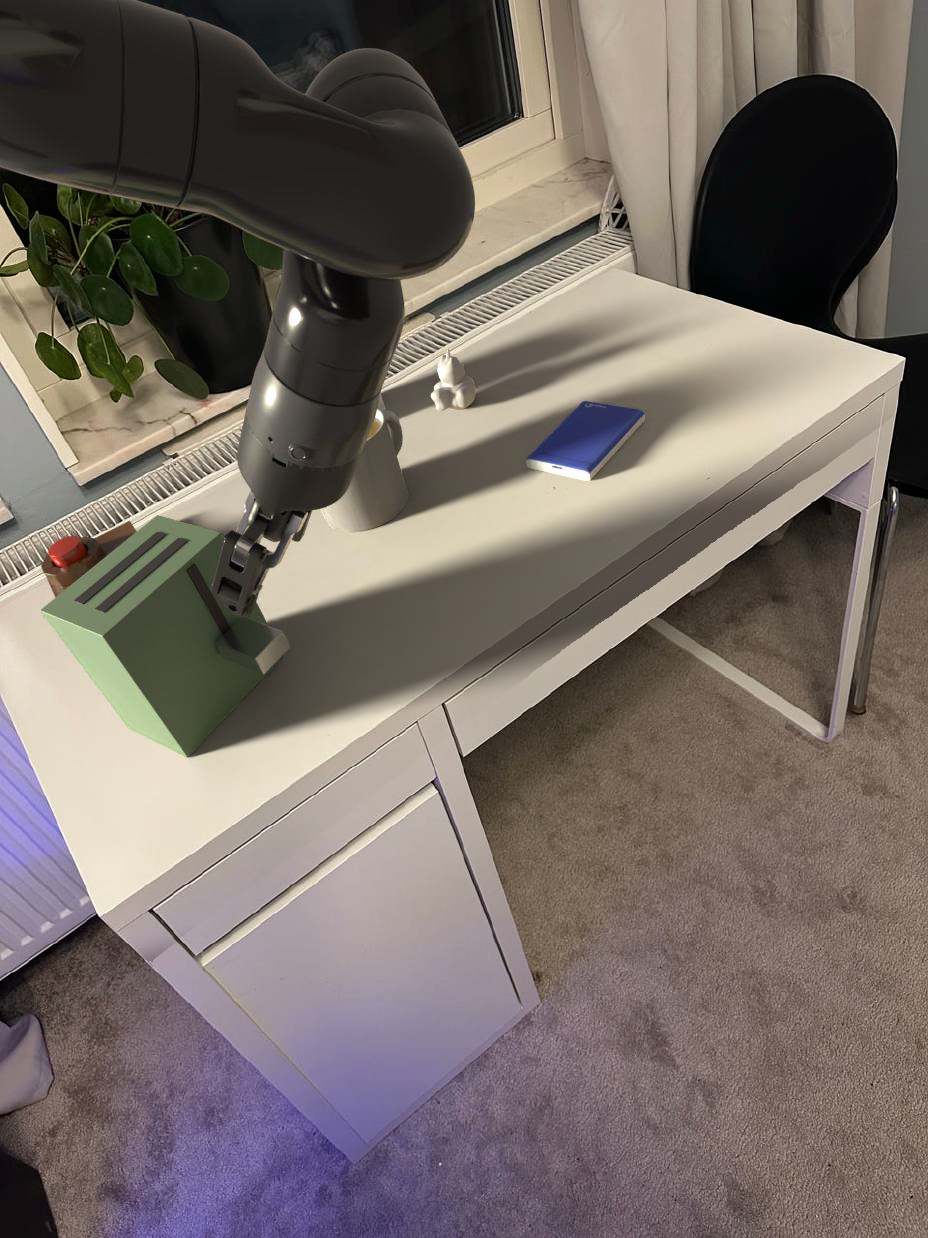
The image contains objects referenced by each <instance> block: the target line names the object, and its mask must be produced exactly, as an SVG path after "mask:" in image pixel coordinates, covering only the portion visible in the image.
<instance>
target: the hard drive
mask: <svg viewBox="0 0 928 1238" xmlns="http://www.w3.org/2000/svg"><path fill="white" fill-rule="evenodd" d="M645 420H646V414H645V411H644V410H642V409H639V408H634V407H629V406H628V407H627V406H621V405H615V404H608V403H601V402H595V401H590V400H583V401H581V402H580V403H579V404H578V405H577V406H576V407H575V408H574V409H573V411H572V412H570V413H569V415H567V416H566V417H565V418H564V419H563V420H562V421H561V423H560V424H558V425H557V427H556V428H554V430H553V431H551V432H550V434H548V436H546V438H545V439H544V440H542V441H541V443H540V444H539V445H538V446H537V447H535V448H534V450H533V451H532V452H531V453H529V454H528V455H527V457H526V458H525V461H526V467H527V468H528V469H530V470H534V471H540V472H544V473H550V474H553V475H559V476H563V477H567V478H572V479H576V480H581V481H586V482H589V481H591V480H592V479H593V478H594V477H595V476H596V474H598V472H599V471H600V470H601V469H602V468H604V466H605V465H606V464H607V463H608V462H609V461H610V459H611V458H612V457H613V456H615V454H616V453H617V451H618V450H619V449H621V447H622V446H623V445H624V444H625V443H626V442H627V441H628V439H630V437H631V436H633V434H634V433H635V432H636V431H637V430H638V428H640V426H641V425H642V424H643V423H644V422H645Z"/></svg>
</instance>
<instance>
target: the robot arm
mask: <svg viewBox="0 0 928 1238" xmlns="http://www.w3.org/2000/svg"><path fill="white" fill-rule="evenodd" d="M0 168H1V169H4V170H8V171H12V172H14V173H18V174H20V175H25V176H27V177H32V178H34V179H37V180H41V181H46V182H50V183H53V184H57V185H61V186H66V187H69V188H74V189H78V190H81V191H87V192H91V193H96V194H101V195H107V196H108V195H109V196H111V197H114V198H121V199H124V200H131V201H135V202H141V203H145V204H151V205H156V206H159V207H164V208H165V207H166V208H171V209H176V210H182V211H187V212H193V213H200V214H205V215H209V216H213V217H215V218H218V219H220V220H221V221H224V222H226V223H228V224H231V225H232V226H234V227H236V228H239V229H240V230H242V231H244V232H246V233H247V234H250V235H252V236H254V237H256V238H258V239H260V240H263V241H265V242H267V243H270V244H272V245H274V246H276V247H279V248H281V249H282V265H281V267H282V268H281V277H280V282H279V285H278V287H277V291H276V295H275V299H274V303H273V306H272V312H271V317H270V321H269V324H268V325H269V326H268V330H267V334H266V339H265V343H264V345H263V350H262V352H261V355H260V357H259V359H258V361H257V364H256V366H255V370H254V373H253V376H252V379H251V386H250V390H249V395H248V400H247V404H246V408H245V413H244V418H243V423H242V427H241V431H240V436H239V440H238V445H237V450H236V461H237V467H238V470H239V473H240V474H241V476H242V479H243V480H244V482H245V483H246V484H247V486H248V487H249V490H250V491H249V493H248V495H247V498H246V500H245V502H244V505H243V506H244V513H243V515H242V517H241V520H240V522H239V524H238V526H237V529H236V530H234V529H230V530H229V531H228V533H226V534H225V536H223V537H224V543H223V546H222V550H221V554H220V558H219V562H218V566H217V570H216V574H215V577H214V581H213V584H212V589H211V592H213V593H215V594H217V595H220V596H222V597H223V601H222V604H223V606H224V609H226V610H228V611H230V612H232V613H234V614H236V615H238V616H240V617H242V616H243V617H246V618H248V617H249V616H250V615H251V613H252V612H253V610H254V608H255V604H256V602H258V601H257V600H258V598H259V594H260V592H261V590H262V589H263V584H264V581H265V579H266V577H267V575H268V573H269V571H270V569H273V568H275V567H277V566H278V565H280V564H281V563H282V560H283V558H284V557H285V554H286V552H287V550H288V548H289V546H290V544H291V542H292V541H293V542H296V543H299V542H300V541H301V540H302V539H303V537H304V536H305V533H306V530H307V528H308V525H309V521H310V519H311V516H312V514H313V511H317V510H321V509H322V508H325V507H328V506H330V505H332V504H334V503H335V502H337V501H338V500H339V499H340V498H342V496H343V495H344V494H345V493H346V491H347V490H348V488H349V485H350V483H351V480H352V477H353V475H354V472H355V470H356V467H357V464H358V462H359V459H360V456H361V454H362V451H363V449H364V446H365V443H366V441H367V438H368V435H369V433H370V430H371V428H372V425H373V422H374V419H375V416H376V413H377V408H378V404H379V398H380V393H381V394H382V390H383V386H384V384H385V381H386V378H387V375H388V373H389V370H390V367H391V365H392V362H393V360H394V357H395V354H396V351H397V348H398V346H399V343H400V339H401V337H402V333H403V329H404V324H405V319H406V318H405V317H406V305H405V298H404V292H403V286H402V281H403V280H409V279H414V278H418V277H422V276H425V275H427V274H429V273H432V272H434V271H435V270H437V269H439V268H441V267H443V266H444V265H446V264H447V263H448V262H449V261H451V260H452V259H453V258H454V257H455V256H456V254H457V253H458V252H459V251H460V250H461V248H462V247H463V246H464V244H465V242H466V241H467V239H468V237H469V235H470V233H471V230H472V226H473V224H474V220H475V214H476V213H475V212H476V194H475V193H476V192H475V188H474V183H473V179H472V174H471V172H470V168H469V166H468V164H467V162H466V159H465V157H464V155H463V152H462V151H461V149H460V147H459V145H458V143H457V140H456V139H455V136H454V135H453V133H452V131H451V129H450V127H449V125H448V123H447V120H446V119H445V117H444V115H443V112H442V111H441V109H440V106H439V105H438V103H437V100H436V99H435V97H434V94H433V92H432V91H431V89H430V87H429V86H428V84H427V83H426V81H425V80H424V78H423V76H421V74H419V72H418V71H417V70H416V69H415V68H414V67H413V66H412V65H411V64H410V63H409V62H407V61H406V60H405V59H403V58H402V57H401V56H399V55H397V54H395V53H393V52H390V51H387V50H385V49H381V48H371V47H366V48H365V47H364V48H357V49H352V50H350V51H346V52H345V53H342V54H340V55H339V56H337V57H336V58H334V59H333V60H331V61H330V62H328V63H327V64H326V65H325V66H324V67H322V69H321V70H320V71H319V73H317V75H316V76H315V77H314V78H313V80H312V81H311V83H310V85H309V86H308V87H307V89H306V91H305V93H303V92H301V91H299V90H297V89H295V88H293V87H291V86H290V85H288V84H286V83H285V82H284V81H282V80H281V79H280V78H279V77H278V76H276V75H275V74H274V73H273V71H272V70H271V69H270V68H269V66H268V65H267V64H266V63H265V62H264V61H263V59H262V58H261V57H260V56H259V54H258V53H257V52H256V51H255V50H254V48H253V47H251V46H250V44H248V43H247V42H246V41H245V40H243V39H242V38H240V37H239V36H237V35H235V34H233V33H232V32H229V31H228V30H226V29H224V28H221V27H219V26H216V25H214V24H211V23H209V22H206V21H203V20H200V19H198V18H194V17H191V16H185V15H184V14H183V13H179V12H176V11H173V10H169V9H166V8H163V7H159V6H156V5H154V4H149V3H147V2H143V1H140V0H0ZM263 539H266V540H268V541H270V542H272V543H277V546H276V548H275V550H274V551H271V550H269V549H268V548H267V546H265V545H262V544H261V542H262V540H263Z"/></svg>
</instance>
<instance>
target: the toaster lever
mask: <svg viewBox="0 0 928 1238" xmlns="http://www.w3.org/2000/svg"><path fill="white" fill-rule="evenodd" d="M215 644H216V646H217V648H218V650H219V651H220V653H221V655H222V656H223V658H224V659H225V660H228V661H231V662H233V663H236V664H238V665H241V666H243V667H246V668H249V669H251V670H254V671H256V672H259V673H262V674H265V673H266V672H267V671H268V670H269V669H270V668H271V667H272V666H273V665H274V664H275V663H276V661H277V660H278V659H279V658H280V657H281V656H282V655H284V654H286V653H287V651H288V650H289V649H290V648H291V644H290V643H289V641H288V638H287V636H286V635H285V633H284V630H282V629H279V628H276V627H274V626H271V625H269V624H268V625H265V624H262V623H259V622H256V621H253V620H250V619H248V618H245V617H241V618H240V619H239V620H238V621H237V622H236V623H235V624H234V625H233V626H232V627H231V628H230V629H229V630H228V631H227V632H226V633H225V634H224V635H223V636H222V637H221V638H220V639H219V640H218V641H217V642H216V643H215Z"/></svg>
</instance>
